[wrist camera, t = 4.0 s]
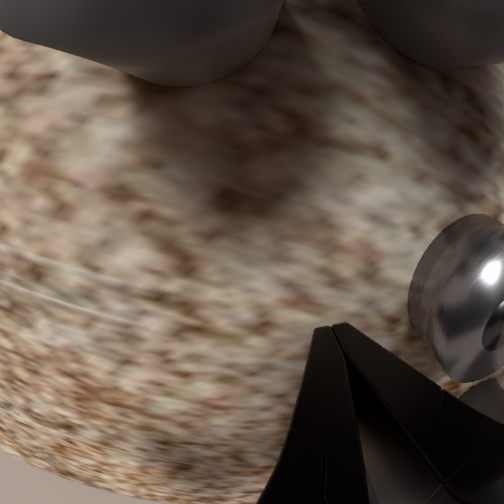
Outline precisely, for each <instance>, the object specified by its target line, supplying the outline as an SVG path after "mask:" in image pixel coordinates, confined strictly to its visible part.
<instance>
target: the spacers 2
mask: <svg viewBox="0 0 504 504" xmlns="http://www.w3.org/2000/svg"><path fill="white" fill-rule="evenodd" d="M459 399H460V400H461V401H463V402H464V403H466V404H468V405H469V406H471V407H472V408H474V409H476V410H478V411H480V412H481V413H483V414H485V415H487V416H489V417H491V418H493V419H495V420H497V421H499V422H501V423H503V424H504V390H503V388H502V387H501V386H500V384H499V383H498V381H497V380H494V379H493V380H487V381H484V382H482V383H480V384H478V385H476V386H475V387H473V388H472V389H470V390H469V391H467V392H466V393H465V394H463V395H462V396H461V397H460V398H459ZM364 465H365V462H364ZM365 472H366V479H367V487H368V495H369V504H379V502H378V499H377V497H376V494H375V491H374V488H373V485H372V482H371V479H370V476H369V474H368V471H367V468H366V465H365Z"/></svg>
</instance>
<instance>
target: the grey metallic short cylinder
mask: <svg viewBox="0 0 504 504" xmlns="http://www.w3.org/2000/svg"><path fill="white" fill-rule="evenodd" d="M408 312H409V316H410V319H411V321H412V323H413V325H414V327H415V328H416V329H417V331H418V332H419V334H420V335H421V337H422V338H423V339H424V341H425V342H426V344H427V345H428V347H429V348H430V349H431V351H432V352H433V354H434V355H435V357H436V358H437V360H438V361H439V363H440V364H441V366H442V367H443V369H444V370H445V372H446V373H447V375H448V376H449V377H450V378H451V379H452V380H453V381H456V382H460V383H469V382H473V381H477V380H480V379H482V378H484V377H486V376H488V375H490V374H492V373H493V372H495V371H496V370H498V369H499V368H501V367H502V366H503V365H504V224H503V223H501V222H500V221H498V220H496V219H494V218H492V217H490V216H488V215H485V214H472V215H468V216H465V217H462V218H460V219H458V220H456V221H455V222H453V223H452V224H450V225H449V226H447V227H446V228H445V229H444V230H443V231H442V232H441V233H440V234H439V235H438V236H437V237H436V238H435V239H434V240H433V241H432V243H431V244H430V245H429V246H428V248H427V249H426V251H425V252H424V254H423V256H422V257H421V259H420V261H419V263H418V265H417V267H416V269H415V272H414V274H413V277H412V280H411V284H410V288H409V294H408Z"/></svg>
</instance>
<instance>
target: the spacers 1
mask: <svg viewBox="0 0 504 504" xmlns="http://www.w3.org/2000/svg"><path fill="white" fill-rule="evenodd" d="M359 1H360V4H361V6H362V8H363V10H364V12H365V13H366V15H367V17H368V18H369V20H370V21H371V23H372V24H373V25H374V27H375V28H376V29H377V30H378V32H379V33H380V34H381V35H382V36H383V37H384V38H385V39H386V40H387V41H388V42H389V43H390V44H391V45H392V46H393V47H395V48H396V49H397V50H398V51H400V52H401V53H402V54H404V55H405V56H407V57H408V58H410V59H412V60H414V61H415V62H418V63H420V64H422V65H425V66H428V67H431V68H436V69H452V68H460V67H468V66H477V65H486V64H498V63H504V0H359ZM283 2H284V0H0V30H1V31H3V32H4V33H6V34H8V35H9V36H11V37H13V38H17V39H20V40H23V41H26V42H30V43H34V44H38V45H42V46H46V47H49V48H53V49H56V50H60V51H63V52H66V53H70V54H73V55H76V56H79V57H82V58H86V59H89V60H92V61H95V62H97V63H100V64H103V65H106V66H109V67H112V68H114V69H117V70H120V71H123V72H125V73H128V74H130V75H133V76H136V77H138V78H141V79H143V80H146V81H148V82H152V83H155V84H158V85H164V86H172V87H187V86H196V85H202V84H206V83H210V82H213V81H216V80H219V79H221V78H224V77H226V76H228V75H230V74H232V73H234V72H236V71H238V70H239V69H241V68H242V67H243V66H245V65H246V64H248V63H249V62H250V61H251V60H252V59H253V58H255V57H256V55H257V54H258V53H259V52H260V51H261V50H262V49H263V47H264V46H265V45H266V43H267V42H268V40H269V38H270V36H271V34H272V33H273V30H274V27H275V24H276V22H277V19H278V16H279V13H280V10H281V8H282V5H283Z"/></svg>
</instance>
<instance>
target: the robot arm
mask: <svg viewBox="0 0 504 504" xmlns="http://www.w3.org/2000/svg"><path fill="white" fill-rule="evenodd" d="M364 462H365V465H366V468H367V471H368V474H369V476H370V479H371V482H372V485H373V488H374V491H375V494H376V497H377V499H378V502H379V504H504V424H503V423H501V422H499V421H497V420H495V419H493V418H491V417H489V416H487V415H485V414H483V413H481V412H480V411H478V410H476V409H474V408H472V407H471V406H469V405H468V404H466V403H464V402H463V401H461V400H460V399H458V398H457V397H455V396H454V395H452V394H451V393H449V392H448V391H446V390H445V389H442V390H441V387H440V386H439V385H437V384H436V383H434V382H433V381H431V380H430V379H429V378H427V377H426V376H424V375H423V374H421V373H420V372H418V371H417V370H415V369H414V368H413V367H411V366H410V365H408V364H407V363H405V362H404V361H402V360H401V359H399V358H398V357H397V356H395V355H394V354H392V353H391V352H389V351H388V350H386V349H385V348H383V347H382V346H381V345H379V344H378V343H376V342H375V341H373V340H372V339H370V338H369V337H368V336H366V335H365V334H363V333H362V332H360V331H359V330H357V329H356V328H354V327H353V326H352V325H350V324H349V323H347V322H343V323H338V324H333V325H332V326H331V327H330V326H324V327H318V328H315V329H314V332H313V337H312V341H311V345H310V349H309V354H308V358H307V362H306V366H305V370H304V374H303V378H302V382H301V385H300V389H299V393H298V397H297V400H296V404H295V408H294V411H293V415H292V418H291V422H290V425H289V430H288V431H287V435H286V438H285V441H284V444H283V447H282V450H281V453H280V456H279V458H278V461H277V464H276V466H275V468H274V470H273V472H272V474H271V477H270V479H269V481H268V483H267V485H266V487H265V489H264V490H263V492H262V494H261V496H260V498H259V499H258V501H257V503H256V504H369V495H368V487H367V479H366V472H365V465H364Z"/></svg>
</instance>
